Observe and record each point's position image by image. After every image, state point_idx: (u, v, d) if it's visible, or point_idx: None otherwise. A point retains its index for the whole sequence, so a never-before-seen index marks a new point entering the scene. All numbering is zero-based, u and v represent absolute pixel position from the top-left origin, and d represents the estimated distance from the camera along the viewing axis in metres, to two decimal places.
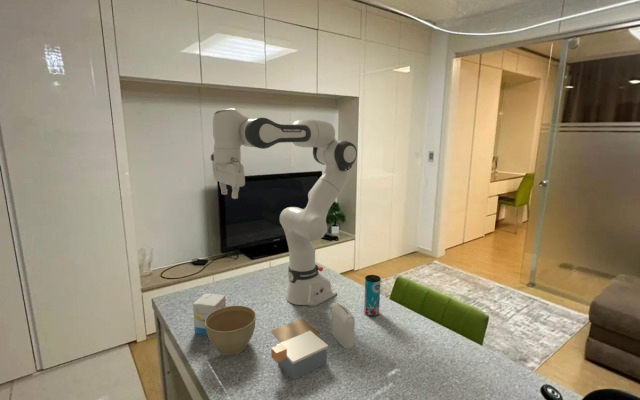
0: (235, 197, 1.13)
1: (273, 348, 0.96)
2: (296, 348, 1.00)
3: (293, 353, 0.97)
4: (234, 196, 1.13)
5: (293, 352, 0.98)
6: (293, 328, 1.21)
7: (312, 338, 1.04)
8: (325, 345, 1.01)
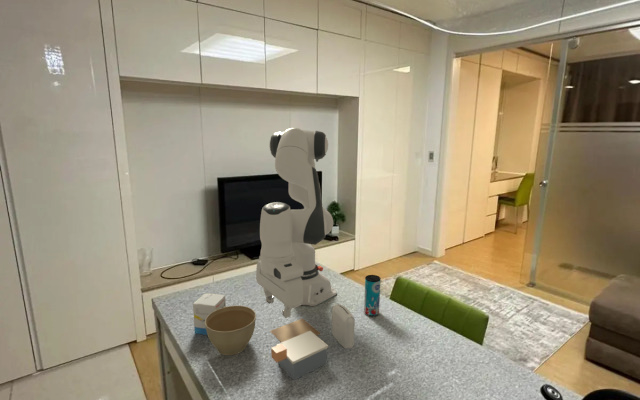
0: None
1: (273, 348, 0.96)
2: (296, 348, 1.00)
3: (293, 353, 0.97)
4: None
5: (293, 352, 0.98)
6: (293, 328, 1.21)
7: (312, 338, 1.04)
8: (325, 345, 1.01)
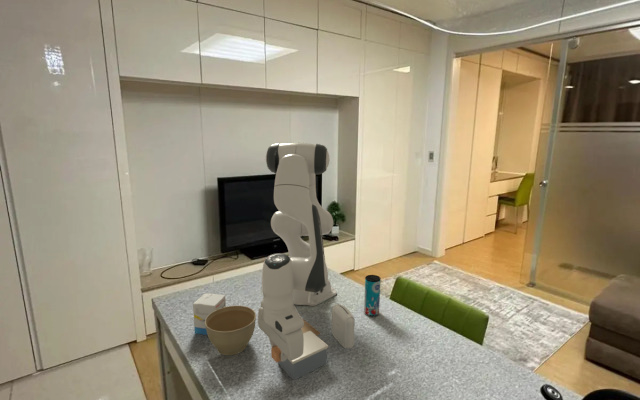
0: None
1: (273, 348, 0.96)
2: None
3: None
4: None
5: None
6: None
7: (312, 338, 1.04)
8: (325, 345, 1.01)
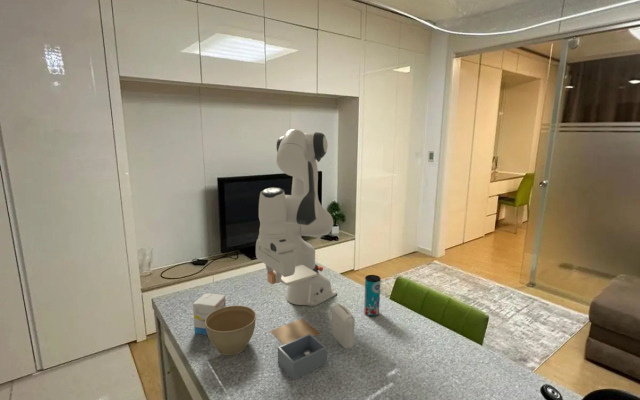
0: None
1: (269, 272, 1.09)
2: None
3: (286, 278, 1.10)
4: None
5: (286, 277, 1.11)
6: (293, 328, 1.21)
7: (304, 269, 1.17)
8: (315, 273, 1.14)
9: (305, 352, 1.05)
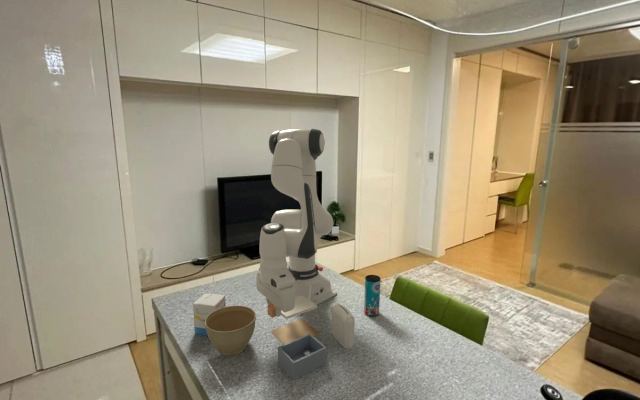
0: None
1: (269, 306, 1.11)
2: None
3: None
4: None
5: None
6: (293, 328, 1.21)
7: (303, 301, 1.19)
8: (314, 305, 1.16)
9: (305, 352, 1.05)
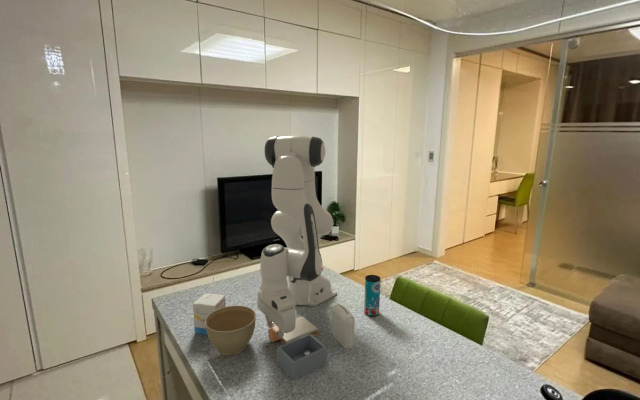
0: None
1: (270, 330, 1.13)
2: None
3: (287, 334, 1.14)
4: None
5: (287, 333, 1.15)
6: None
7: (303, 322, 1.21)
8: (314, 328, 1.18)
9: (305, 352, 1.04)
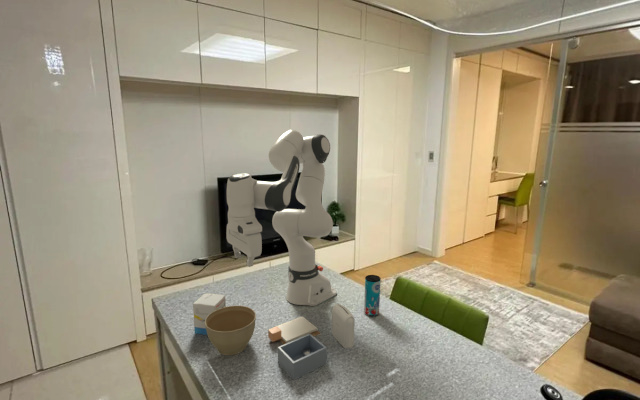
0: None
1: (270, 330, 1.13)
2: (289, 330, 1.16)
3: (287, 334, 1.14)
4: None
5: (287, 333, 1.15)
6: None
7: (303, 322, 1.21)
8: (314, 328, 1.18)
9: (305, 352, 1.04)
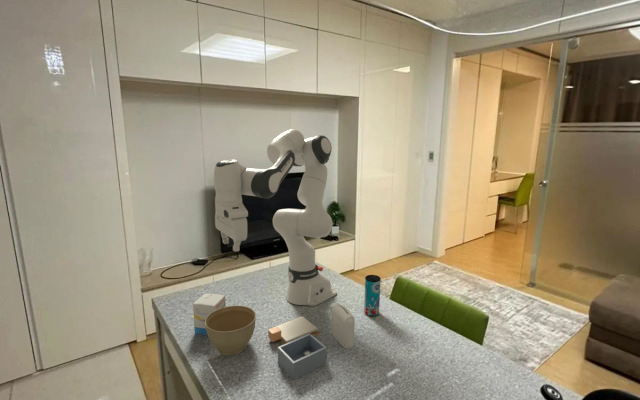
0: None
1: (270, 330, 1.13)
2: (289, 330, 1.16)
3: (287, 334, 1.14)
4: None
5: (287, 333, 1.15)
6: None
7: (303, 322, 1.21)
8: (314, 328, 1.18)
9: (305, 352, 1.05)
